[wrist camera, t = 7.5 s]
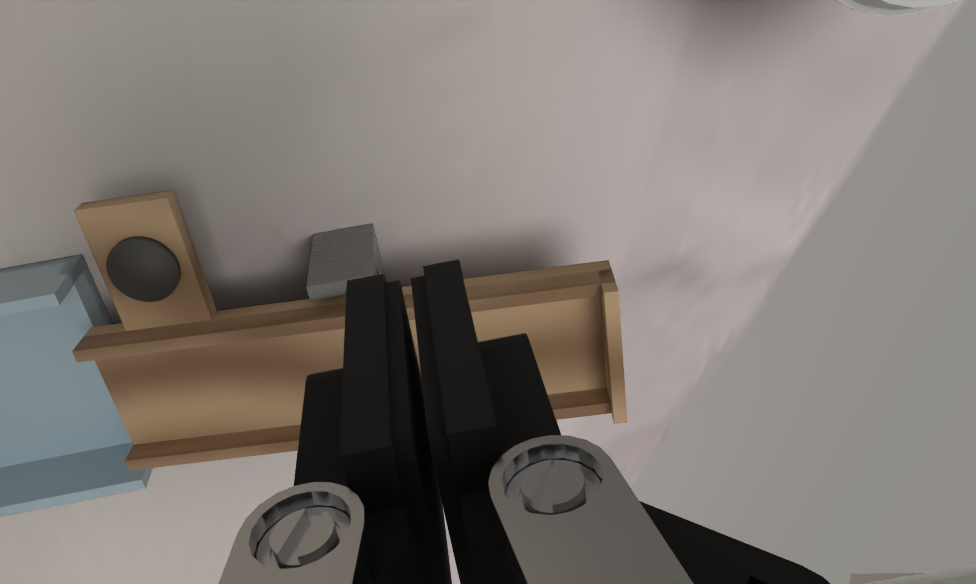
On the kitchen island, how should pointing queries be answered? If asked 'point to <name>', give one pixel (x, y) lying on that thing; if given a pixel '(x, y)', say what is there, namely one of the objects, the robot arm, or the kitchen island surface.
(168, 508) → the kitchen island surface
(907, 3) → the disposable coffee cup
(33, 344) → the dish
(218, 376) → the lever
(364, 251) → the grey arch block
